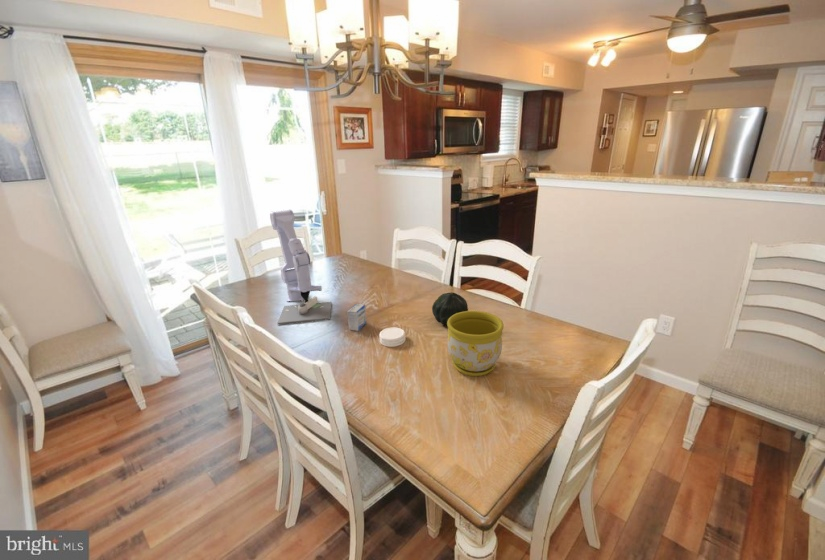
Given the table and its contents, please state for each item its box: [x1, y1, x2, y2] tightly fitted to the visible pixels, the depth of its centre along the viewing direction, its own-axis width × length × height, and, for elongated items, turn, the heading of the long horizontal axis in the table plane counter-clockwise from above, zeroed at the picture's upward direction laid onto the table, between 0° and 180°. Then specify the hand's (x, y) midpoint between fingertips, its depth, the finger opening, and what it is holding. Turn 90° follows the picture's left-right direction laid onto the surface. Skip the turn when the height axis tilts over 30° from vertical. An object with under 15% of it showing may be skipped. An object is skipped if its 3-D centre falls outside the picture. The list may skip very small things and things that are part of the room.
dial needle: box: [297, 295, 319, 314], centre depth 167 cm, size 13×4×4 cm, turn 162°
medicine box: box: [346, 303, 367, 332], centre depth 151 cm, size 8×4×9 cm, turn 161°
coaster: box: [378, 326, 406, 348], centre depth 139 cm, size 10×10×4 cm
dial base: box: [277, 301, 332, 325], centre depth 165 cm, size 18×22×1 cm
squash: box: [431, 292, 469, 325], centre depth 151 cm, size 14×15×15 cm
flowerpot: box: [446, 310, 505, 377], centre depth 119 cm, size 18×18×16 cm
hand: (307, 305), depth 170 cm, fingers closed, pressing on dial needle
